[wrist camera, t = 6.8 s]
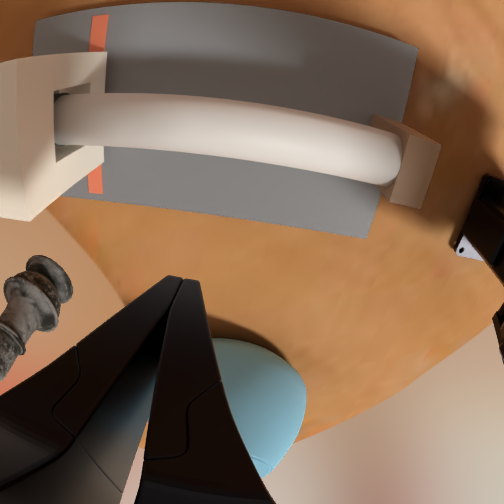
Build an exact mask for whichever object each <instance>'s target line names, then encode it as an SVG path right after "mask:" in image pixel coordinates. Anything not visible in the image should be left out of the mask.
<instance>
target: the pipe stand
mask: <svg viewBox="0 0 504 504" xmlns="http://www.w3.org/2000/svg"><path fill="white" fill-rule="evenodd" d="M79 52H107V62H106V76H105V93H93V94H71V95H70V94H69V93H59V90H56V91H54V140H55V147H62V146H65V145H88V146H104V162H103V163H102V164H101V165H99V166H98V167H97V168H95V169H94V170H92V171H91V172H90V173H88V174H87V175H86V176H85V177H83V178H82V179H81V180H79V181H78V182H77V183H75V184H74V185H73V186H72V187H70V188H69V189H68V190H67V191H65V192H64V193H63V194H62V195H60V196H65V197H74V198H83V199H93V200H101V201H110V202H119V203H127V204H135V205H143V206H151V207H159V208H167V209H175V210H182V211H189V212H197V213H204V214H211V215H218V216H225V217H232V218H239V219H246V220H252V221H259V222H266V223H272V224H279V225H285V226H291V227H298V228H304V229H310V230H316V231H322V232H328V233H334V234H340V235H346V236H351V237H357V238H363V239H366V238H367V235H368V232H369V229H370V227H371V224H372V221H373V218H374V215H375V212H376V209H377V206H378V203H379V200H380V197H381V194H382V193H383V195H384V196H385V197H386V199H387V200H388V201H389V202H391V203H395V204H399V205H403V206H408V207H412V208H416V209H421V206H422V204H423V201H424V198H425V195H426V193H427V190H428V187H429V184H430V181H431V178H432V175H433V172H434V169H435V166H436V163H437V160H438V157H439V153H440V150H441V147H442V145H440V144H439V143H437V142H435V141H434V140H432V139H430V138H428V137H427V136H425V135H423V134H421V133H420V132H418V131H416V130H414V129H412V128H410V127H408V126H407V125H405V124H403V123H402V121H403V117H404V113H405V109H406V104H407V100H408V96H409V92H410V87H411V83H412V78H413V73H414V68H415V63H416V58H417V53H418V48H417V47H414V46H412V45H409V44H407V43H404V42H401V41H399V40H396V39H393V38H390V37H387V36H385V35H382V34H379V33H376V32H372V31H369V30H366V29H363V28H359V27H356V26H352V25H349V24H345V23H341V22H337V21H333V20H329V19H325V18H321V17H316V16H311V15H307V14H302V13H296V12H291V11H285V10H279V9H272V8H265V7H257V6H248V5H238V4H225V3H207V2H158V3H140V4H128V5H118V6H109V7H101V8H94V9H88V10H82V11H76V12H71V13H66V14H61V15H57V16H52V17H48V18H44V19H40V20H36V22H35V31H34V41H33V54H32V56H41V55H51V54H63V53H79Z"/></svg>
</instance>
